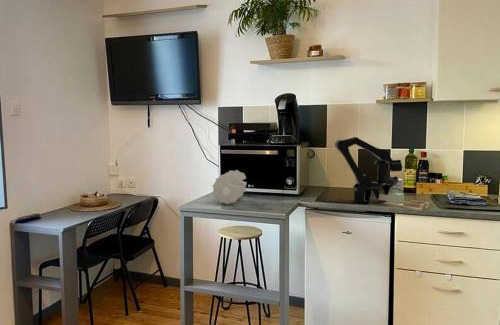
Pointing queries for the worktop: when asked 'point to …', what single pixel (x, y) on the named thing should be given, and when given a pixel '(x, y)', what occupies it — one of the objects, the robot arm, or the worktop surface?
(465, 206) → the worktop surface
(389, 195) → the sage block
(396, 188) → the ink box
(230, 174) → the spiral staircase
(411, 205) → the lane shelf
